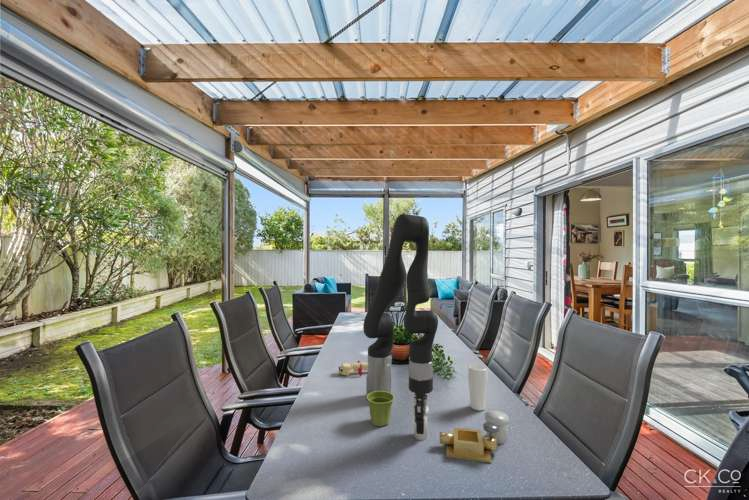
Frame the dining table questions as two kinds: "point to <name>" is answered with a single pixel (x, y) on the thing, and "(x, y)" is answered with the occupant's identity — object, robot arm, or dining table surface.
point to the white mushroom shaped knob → (424, 435)
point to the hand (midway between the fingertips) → (420, 429)
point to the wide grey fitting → (501, 421)
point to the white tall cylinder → (477, 386)
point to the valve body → (471, 443)
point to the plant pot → (380, 407)
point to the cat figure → (352, 368)
